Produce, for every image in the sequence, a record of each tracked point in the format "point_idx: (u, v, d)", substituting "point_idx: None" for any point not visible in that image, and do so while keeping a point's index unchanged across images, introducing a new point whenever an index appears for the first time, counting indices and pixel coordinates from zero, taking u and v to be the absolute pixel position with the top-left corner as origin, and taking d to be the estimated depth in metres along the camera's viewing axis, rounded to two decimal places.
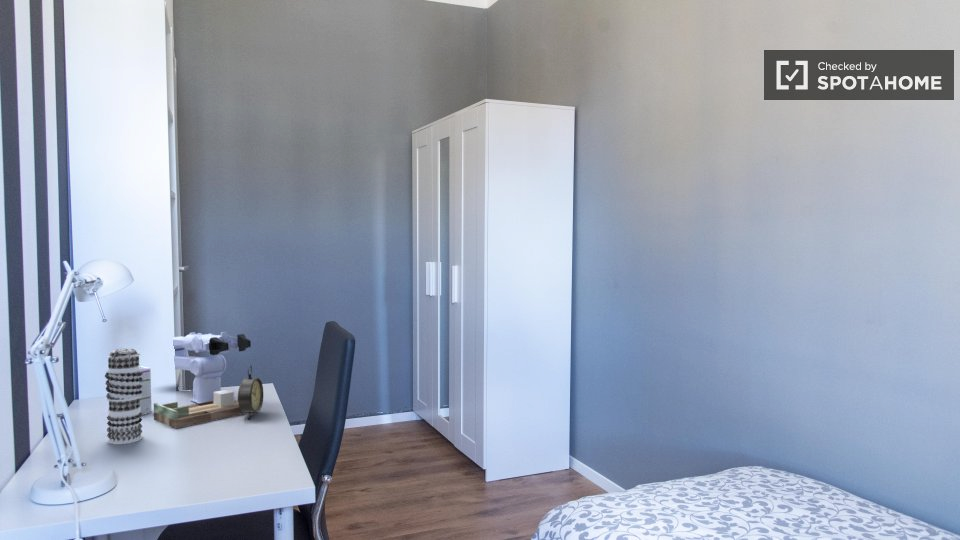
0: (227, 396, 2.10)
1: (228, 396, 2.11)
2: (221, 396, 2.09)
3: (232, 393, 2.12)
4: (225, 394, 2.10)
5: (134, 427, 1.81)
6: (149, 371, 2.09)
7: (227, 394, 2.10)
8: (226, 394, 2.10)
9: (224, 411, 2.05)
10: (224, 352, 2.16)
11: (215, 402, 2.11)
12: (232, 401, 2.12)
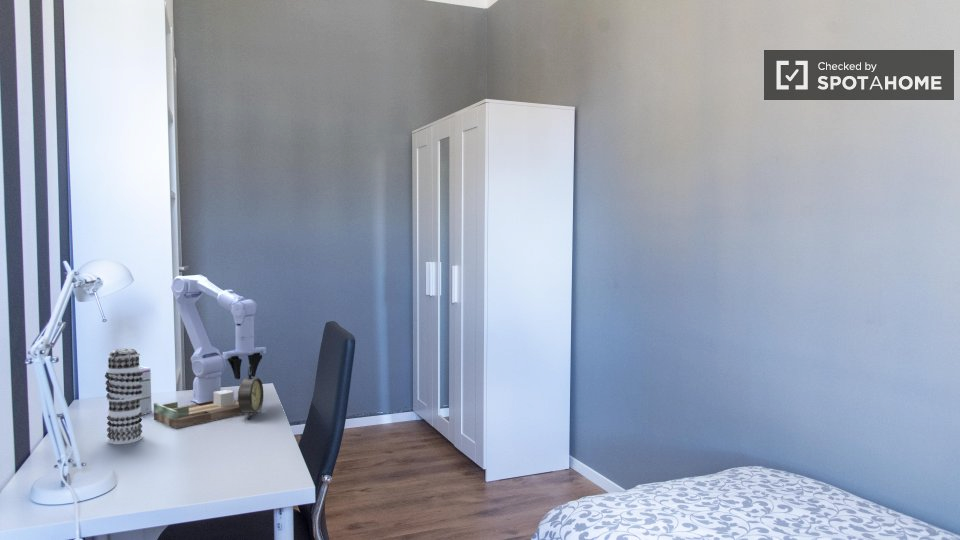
0: (227, 396, 2.10)
1: (228, 396, 2.11)
2: (221, 396, 2.09)
3: (232, 393, 2.12)
4: (225, 394, 2.10)
5: (134, 427, 1.81)
6: (149, 371, 2.09)
7: (227, 394, 2.10)
8: (226, 394, 2.10)
9: (224, 411, 2.05)
10: None
11: (215, 402, 2.11)
12: (232, 401, 2.12)
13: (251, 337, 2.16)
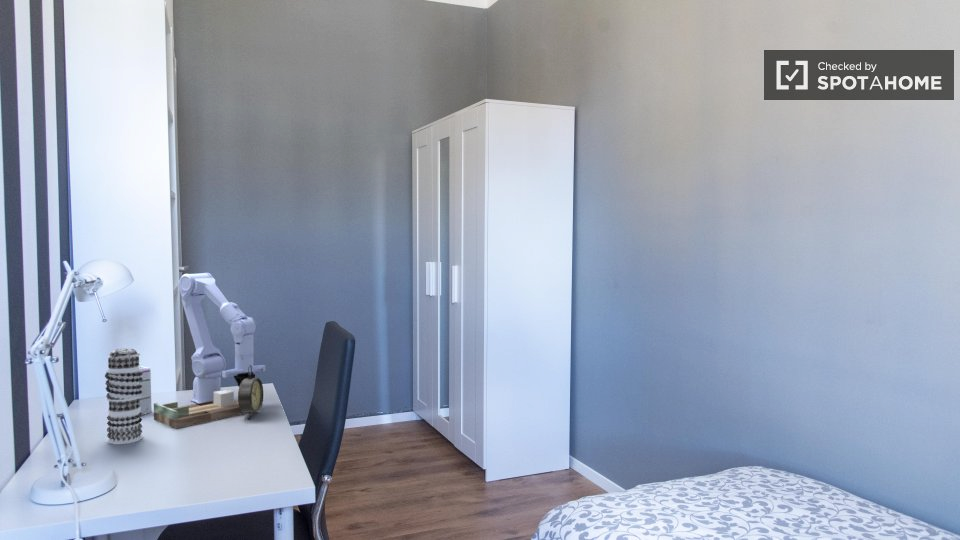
0: (227, 396, 2.10)
1: (228, 396, 2.11)
2: (221, 396, 2.09)
3: (232, 393, 2.12)
4: (225, 394, 2.10)
5: (134, 427, 1.81)
6: (149, 371, 2.09)
7: (227, 394, 2.10)
8: (226, 394, 2.10)
9: (224, 411, 2.05)
10: None
11: (215, 402, 2.11)
12: (232, 401, 2.12)
13: (251, 356, 2.16)
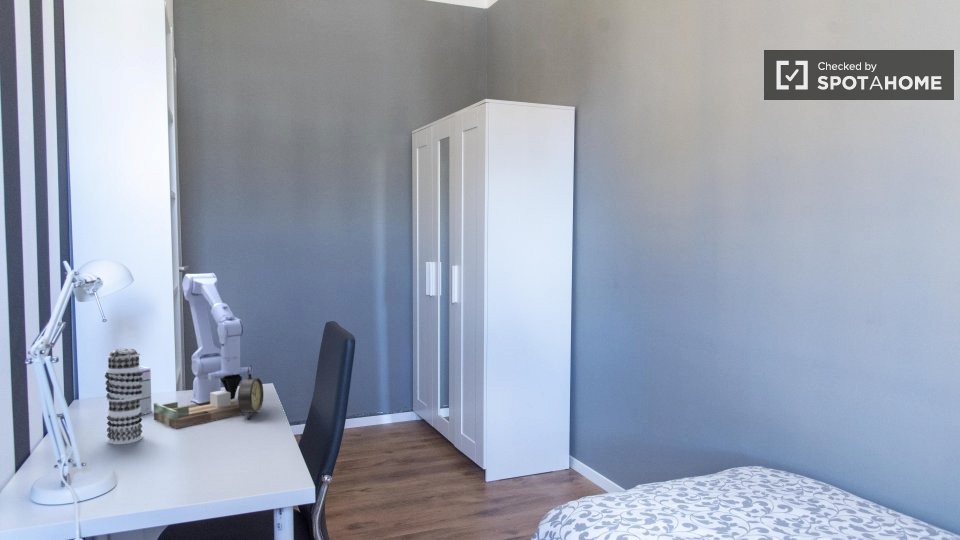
0: (224, 397, 2.10)
1: (225, 397, 2.10)
2: (218, 397, 2.08)
3: (229, 394, 2.11)
4: (222, 395, 2.09)
5: (134, 427, 1.81)
6: (149, 371, 2.09)
7: (224, 395, 2.10)
8: (223, 395, 2.09)
9: (224, 411, 2.05)
10: None
11: (212, 403, 2.10)
12: (229, 402, 2.11)
13: (237, 357, 2.12)
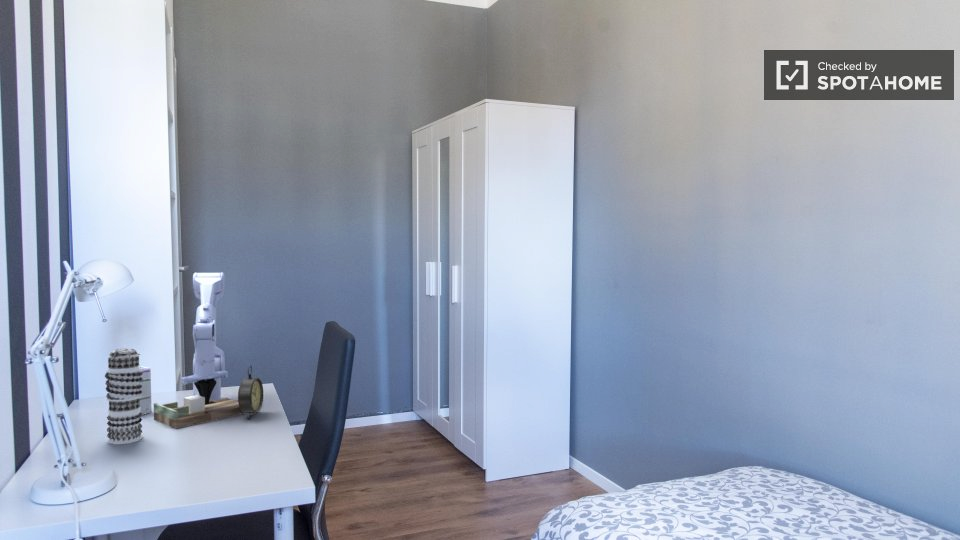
0: (197, 402, 2.03)
1: (199, 402, 2.03)
2: (191, 402, 2.01)
3: (203, 399, 2.04)
4: (195, 400, 2.02)
5: (134, 427, 1.81)
6: (149, 371, 2.09)
7: (197, 400, 2.03)
8: (196, 400, 2.03)
9: (224, 411, 2.05)
10: None
11: None
12: (203, 407, 2.04)
13: (211, 361, 2.05)
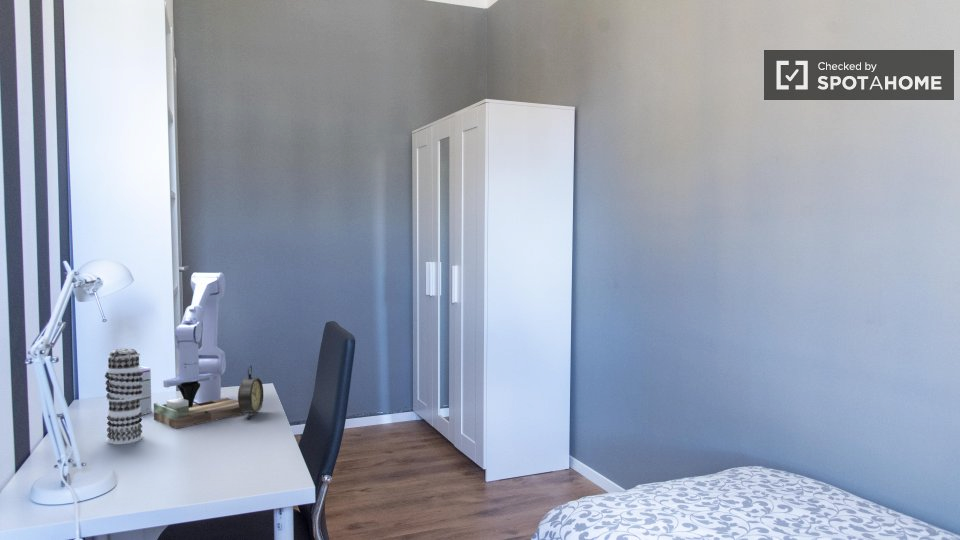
0: (181, 405, 1.99)
1: (182, 405, 1.99)
2: (174, 405, 1.97)
3: (187, 402, 2.00)
4: (178, 403, 1.98)
5: (134, 427, 1.81)
6: (149, 371, 2.09)
7: (181, 403, 1.99)
8: (180, 403, 1.99)
9: (224, 411, 2.05)
10: None
11: None
12: None
13: (195, 364, 2.01)
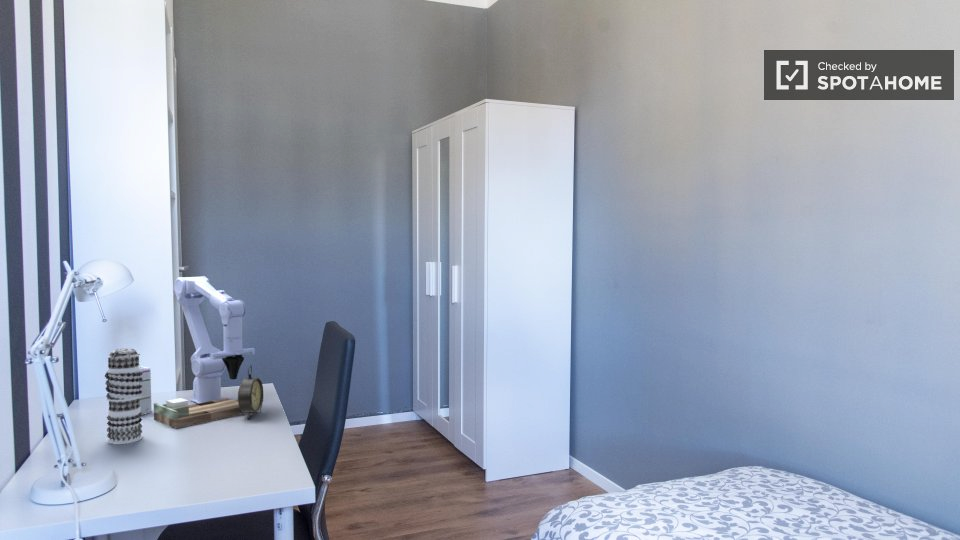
0: (181, 405, 1.99)
1: (182, 405, 1.99)
2: (174, 405, 1.97)
3: (187, 402, 2.00)
4: (178, 403, 1.98)
5: (134, 427, 1.81)
6: (149, 371, 2.09)
7: (181, 403, 1.99)
8: (179, 403, 1.99)
9: (224, 411, 2.05)
10: None
11: None
12: None
13: (239, 338, 2.13)
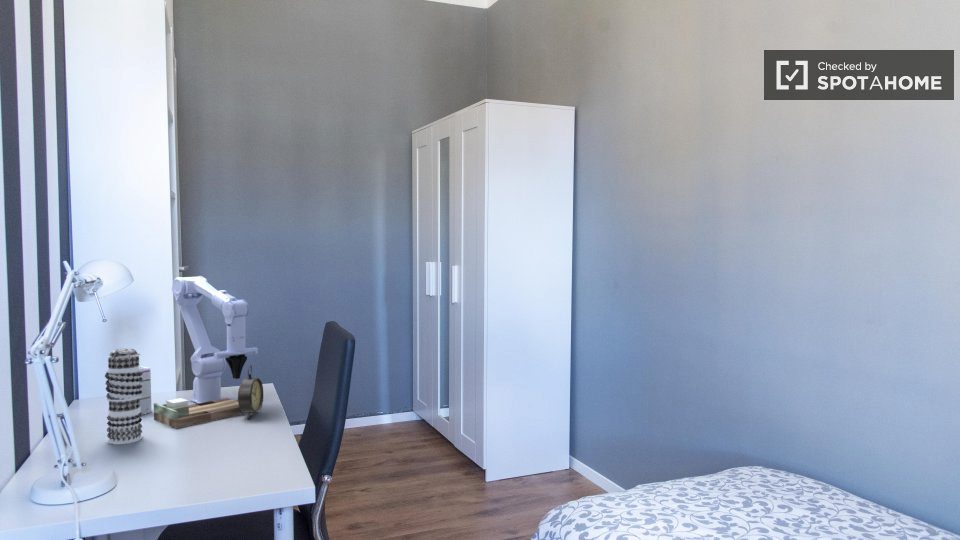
0: (181, 405, 1.99)
1: (182, 405, 1.99)
2: (174, 405, 1.97)
3: (187, 402, 2.00)
4: (178, 403, 1.98)
5: (134, 427, 1.81)
6: (149, 371, 2.09)
7: (181, 403, 1.99)
8: (179, 403, 1.99)
9: (224, 411, 2.05)
10: None
11: None
12: None
13: (242, 337, 2.14)
